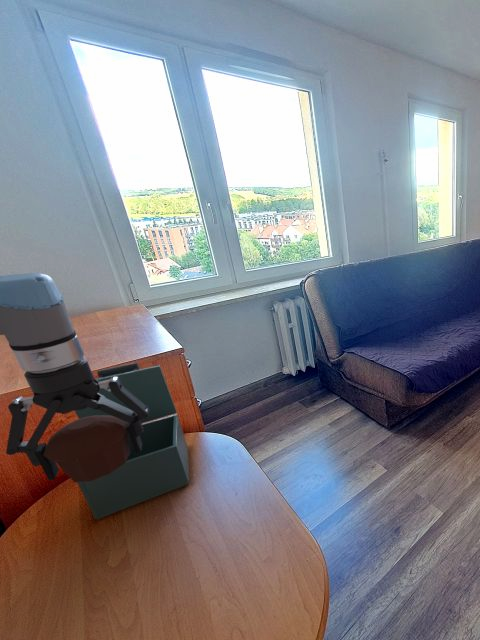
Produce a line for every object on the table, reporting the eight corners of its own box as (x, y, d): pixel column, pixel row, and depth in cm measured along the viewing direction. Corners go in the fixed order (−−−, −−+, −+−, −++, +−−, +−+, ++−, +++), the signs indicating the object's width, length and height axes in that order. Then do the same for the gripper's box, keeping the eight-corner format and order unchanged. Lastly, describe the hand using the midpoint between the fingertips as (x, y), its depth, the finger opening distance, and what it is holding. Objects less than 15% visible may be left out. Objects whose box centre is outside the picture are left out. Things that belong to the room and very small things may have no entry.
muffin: (145, 438, 73) (131, 399, 69) (128, 475, 63) (111, 432, 60) (73, 454, 68) (54, 414, 64) (43, 497, 58) (19, 452, 55)
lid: (159, 366, 88) (159, 351, 93) (61, 388, 78) (67, 370, 83) (176, 413, 96) (175, 397, 102) (89, 438, 87) (93, 419, 92)
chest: (189, 483, 89) (176, 446, 85) (95, 519, 79) (75, 479, 75) (188, 448, 102) (177, 413, 97) (107, 475, 92) (90, 438, 87)
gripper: (-70, 395, 48) (-2, 504, 56) (141, 354, 61) (173, 448, 69) (-42, 373, 54) (16, 475, 62) (145, 340, 67) (174, 428, 74)
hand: (98, 461), depth 65 cm, fingers closed on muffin, 12 cm apart
